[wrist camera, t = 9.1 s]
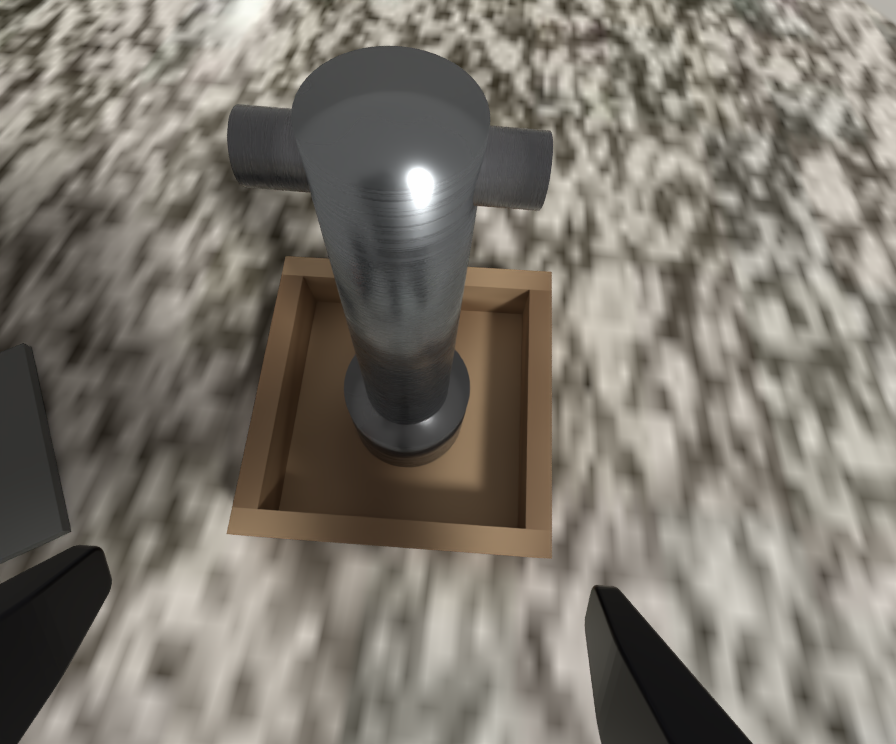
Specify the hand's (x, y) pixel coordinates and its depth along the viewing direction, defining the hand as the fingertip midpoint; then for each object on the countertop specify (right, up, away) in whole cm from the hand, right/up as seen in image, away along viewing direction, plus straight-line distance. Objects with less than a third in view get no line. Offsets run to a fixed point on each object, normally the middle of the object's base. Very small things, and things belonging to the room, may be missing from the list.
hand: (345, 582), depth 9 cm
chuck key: (0, +2, +9) cm, 10 cm away
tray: (0, +2, +10) cm, 10 cm away
